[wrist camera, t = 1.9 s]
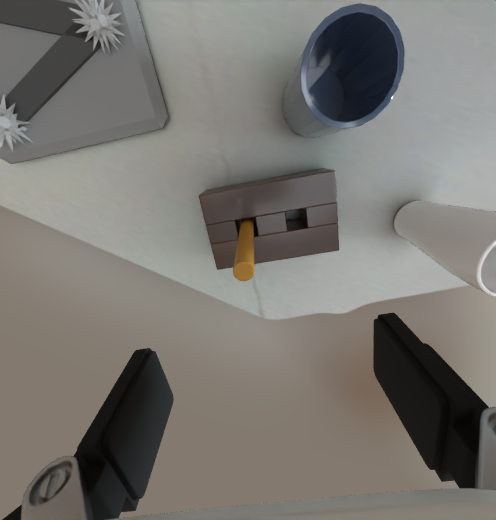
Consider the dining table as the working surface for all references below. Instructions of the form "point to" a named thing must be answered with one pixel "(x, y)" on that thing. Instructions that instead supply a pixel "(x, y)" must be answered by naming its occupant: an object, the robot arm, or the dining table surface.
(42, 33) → the decorative plate
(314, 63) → the tumbler
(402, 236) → the drinking glass
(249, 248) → the orange rod
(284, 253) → the brown wooden block
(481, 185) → the dining table surface
